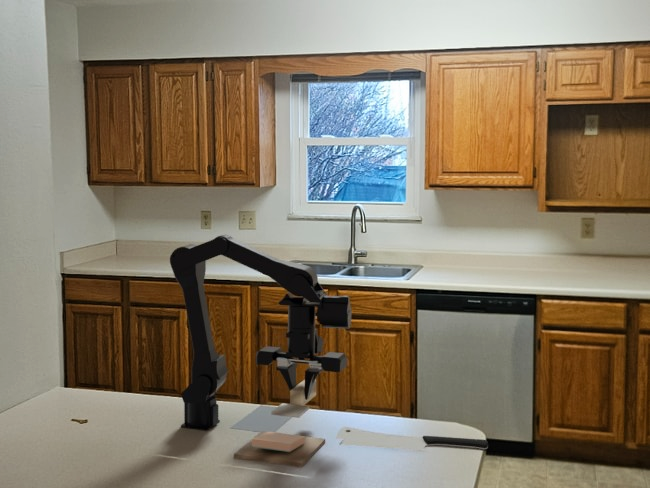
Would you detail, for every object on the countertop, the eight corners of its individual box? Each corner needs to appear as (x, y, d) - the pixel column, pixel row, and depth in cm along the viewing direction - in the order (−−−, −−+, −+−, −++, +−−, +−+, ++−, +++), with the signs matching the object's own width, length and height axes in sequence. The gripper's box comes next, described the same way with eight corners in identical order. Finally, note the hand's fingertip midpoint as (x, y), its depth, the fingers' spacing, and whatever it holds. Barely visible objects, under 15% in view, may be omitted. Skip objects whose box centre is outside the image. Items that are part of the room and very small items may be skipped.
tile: (267, 439, 160) (251, 447, 152) (267, 431, 160) (252, 438, 152) (304, 444, 157) (290, 452, 150) (304, 436, 157) (290, 443, 150)
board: (233, 458, 152) (233, 453, 151) (262, 435, 165) (262, 430, 165) (301, 468, 147) (301, 463, 147) (325, 443, 160) (325, 438, 160)
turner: (271, 414, 158) (271, 397, 158) (298, 393, 173) (298, 377, 173) (299, 417, 156) (299, 400, 156) (323, 395, 171) (324, 380, 171)
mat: (229, 429, 168) (229, 427, 168) (260, 406, 184) (260, 405, 184) (272, 434, 165) (272, 433, 165) (300, 411, 181) (300, 409, 181)
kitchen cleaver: (331, 444, 159) (339, 423, 168) (331, 452, 159) (339, 430, 168) (488, 458, 152) (488, 435, 162) (487, 466, 153) (487, 442, 162)
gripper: (354, 322, 169) (353, 392, 171) (274, 316, 175) (274, 384, 176) (339, 332, 159) (338, 407, 160) (254, 325, 164) (254, 398, 166)
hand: (300, 398), depth 166 cm, fingers closed on turner, 2 cm apart
